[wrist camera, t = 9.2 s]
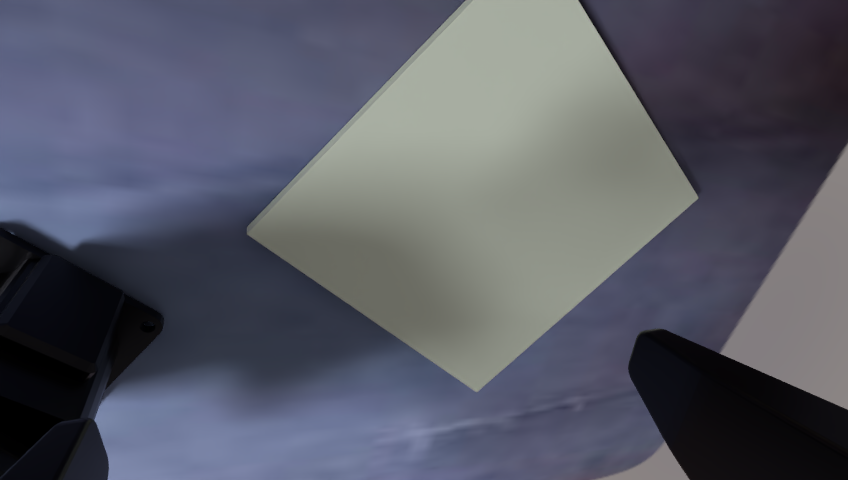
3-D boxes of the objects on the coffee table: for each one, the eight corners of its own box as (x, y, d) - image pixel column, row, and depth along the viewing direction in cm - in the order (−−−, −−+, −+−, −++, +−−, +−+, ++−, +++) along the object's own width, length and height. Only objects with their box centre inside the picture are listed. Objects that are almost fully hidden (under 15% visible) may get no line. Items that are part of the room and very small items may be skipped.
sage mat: (472, 383, 26) (476, 392, 26) (247, 226, 19) (246, 234, 19) (689, 193, 24) (698, 198, 24) (529, -66, 17) (537, -67, 16)
